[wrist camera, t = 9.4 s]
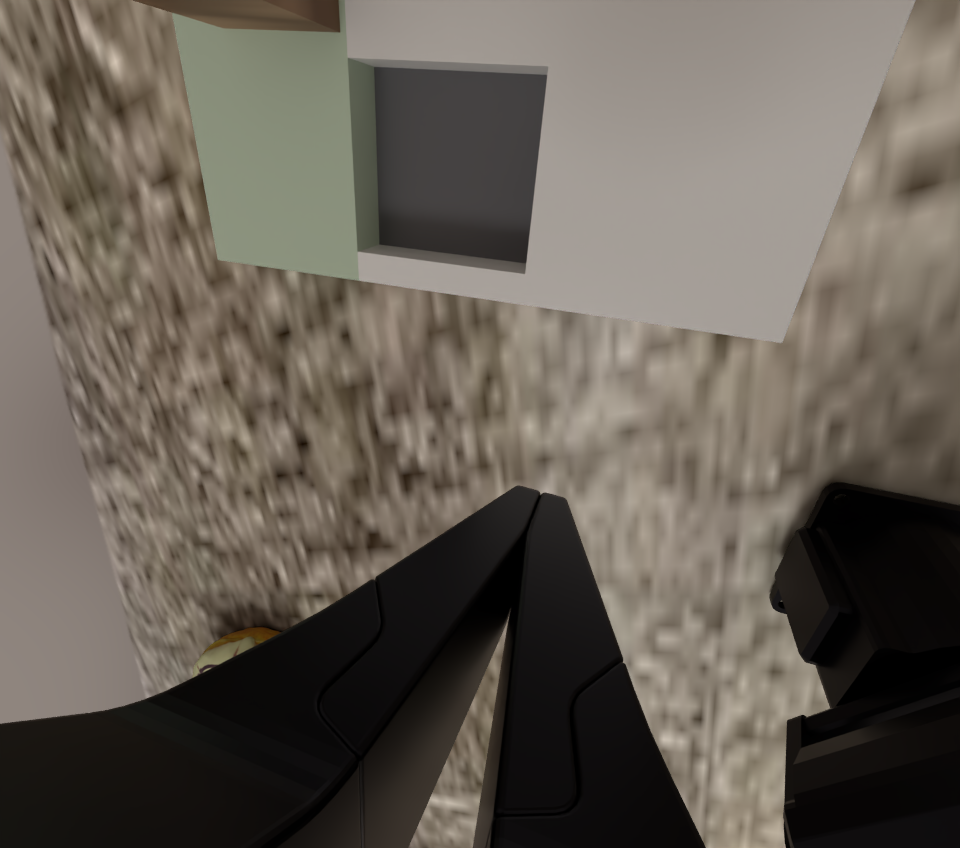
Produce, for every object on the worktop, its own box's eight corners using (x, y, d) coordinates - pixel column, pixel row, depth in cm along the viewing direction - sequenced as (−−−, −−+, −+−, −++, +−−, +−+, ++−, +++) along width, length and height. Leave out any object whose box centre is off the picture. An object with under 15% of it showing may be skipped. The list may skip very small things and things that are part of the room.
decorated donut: (374, 684, 34) (346, 739, 31) (313, 732, 39) (285, 783, 36) (249, 594, 33) (207, 641, 30) (206, 656, 39) (166, 701, 35)
